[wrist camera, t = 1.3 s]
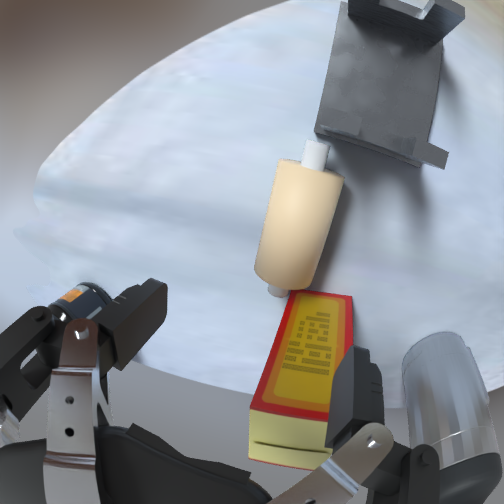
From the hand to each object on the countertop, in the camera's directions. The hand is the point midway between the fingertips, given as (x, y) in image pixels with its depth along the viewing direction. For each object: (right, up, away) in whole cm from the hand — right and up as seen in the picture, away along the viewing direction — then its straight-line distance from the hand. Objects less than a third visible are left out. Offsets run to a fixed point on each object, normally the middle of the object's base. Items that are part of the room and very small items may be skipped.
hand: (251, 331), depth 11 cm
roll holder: (+12, +19, +8) cm, 23 cm away
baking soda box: (+7, -5, +20) cm, 22 cm away
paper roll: (+5, +7, +15) cm, 17 cm away
